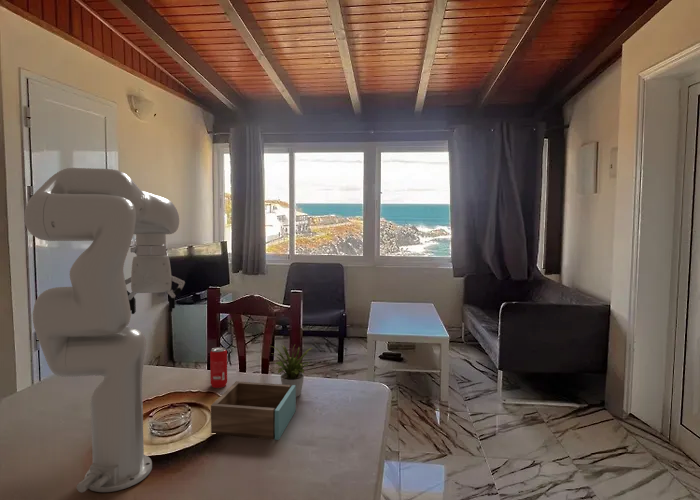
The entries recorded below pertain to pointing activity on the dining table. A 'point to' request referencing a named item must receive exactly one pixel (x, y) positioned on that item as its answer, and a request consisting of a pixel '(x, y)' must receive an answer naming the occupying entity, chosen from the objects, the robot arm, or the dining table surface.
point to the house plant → (292, 370)
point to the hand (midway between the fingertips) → (152, 312)
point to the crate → (247, 410)
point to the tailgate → (285, 412)
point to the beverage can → (218, 367)
